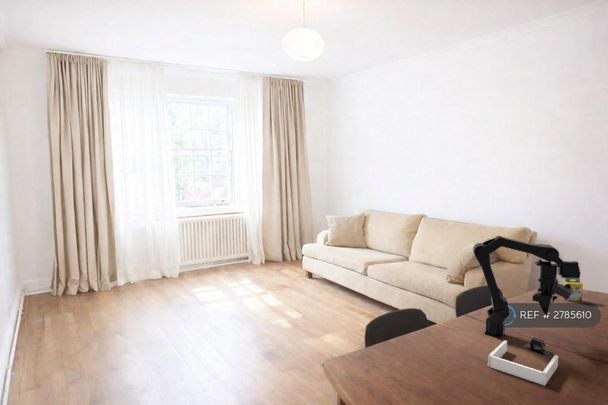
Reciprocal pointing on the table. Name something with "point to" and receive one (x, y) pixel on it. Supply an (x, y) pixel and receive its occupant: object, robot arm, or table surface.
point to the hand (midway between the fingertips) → (546, 314)
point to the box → (520, 366)
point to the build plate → (535, 348)
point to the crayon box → (575, 289)
